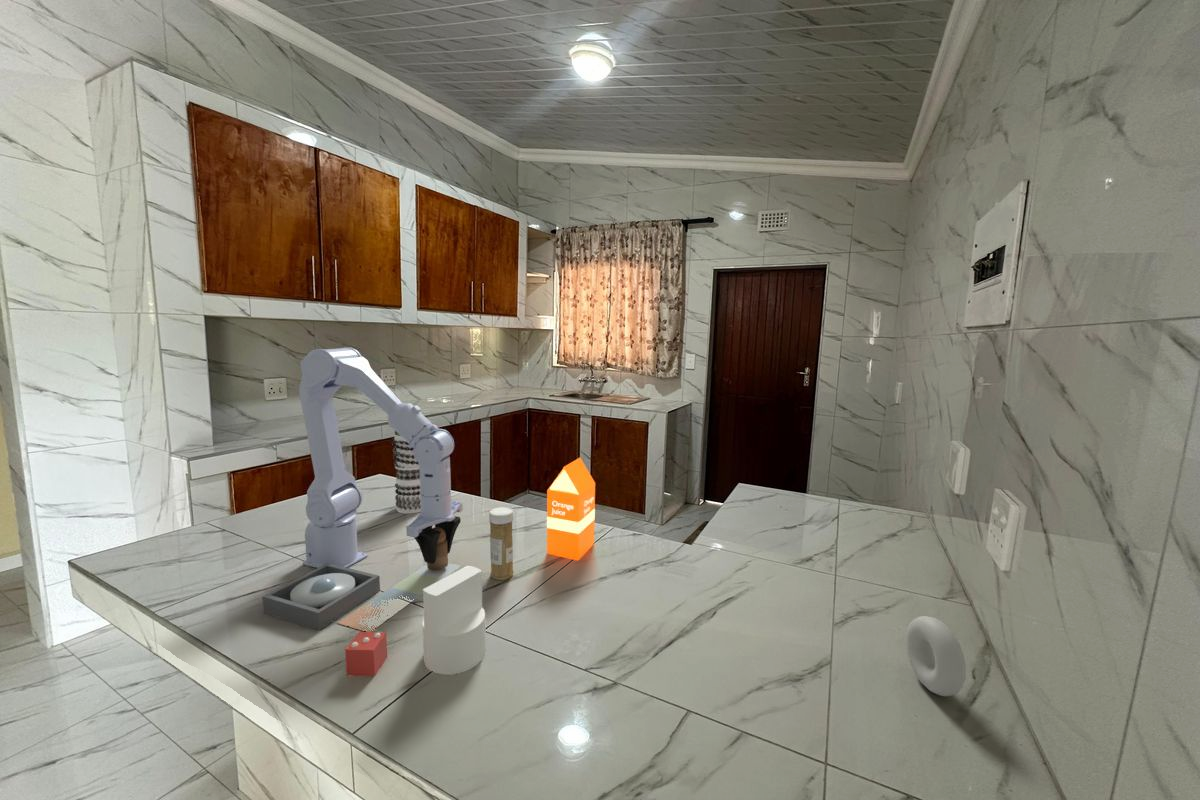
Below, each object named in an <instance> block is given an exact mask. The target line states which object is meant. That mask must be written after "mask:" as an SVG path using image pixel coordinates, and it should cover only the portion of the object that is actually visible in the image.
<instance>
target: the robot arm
mask: <svg viewBox="0 0 1200 800" xmlns="http://www.w3.org/2000/svg"><path fill="white" fill-rule="evenodd" d="M299 365H300V371H301V379H300V384H299V386H298V387H299V388H298V392H299V393H298V394H299V400H300V402H301V403H300V405H301V409H302V415H303V419H304V425H305V430H306V436H307V441H308V445H309V450H310V451H309V453H310V457H311V463H312V468H313V473H314V480H313V481H312V482H311V484H309V487H308V489H307V491H306V496H307V503H306V506H305V513H306V517H307V519H308V520H309V522H308V524H307V525H306V527H305V530H304V543H305V544H304V545H305V556H306V557H305V558H306V559H305V560H303V561H302V564H303V565H305V566H308V567H313V568H315V569H317V568H319V567H321V566H323V565H325V564H327V563H330V564H334V565H338V566H342V567H346V568H350V566H353V565H354V564H356V563H358V562H359V561H361V560H364V559H365V558H367V557H368V556H369V555H368V553H366V552H362V551H358V550H359V549H358V537H357V536H358V535H357V534H358V532H357V515H358V511H357V509H358V508H360V506H361V505H362V504H363V494H362V491H361V489H360V487H358V485H357V483H356V478H355V476H354V475H352V474H351V473H349V472H348V471H346V464H345V459H344V455H343V453H344V452H343V449H342V448H343V447H342V442H341V438H340V431H339V426H338V421H337V415H336V410H335V409H336V408H335V403H334V400H333V399H334V398H333V397H334V394H336V393H337V392H338V391H339V389H340V388H341V387H342V386H346V387H352V388H353V387H354V388H357V389H358V390H359V391H360V392H361V393H362V394H364V395H365V396H366V397H367V398H368V399H369V400H370V401H372V402H373V403H374V404H375V405H376V406H378V407H379V408H380V409H381V410H382V411H383V412H385V414H387V423H388V425H389V426H390V427H391V428H392V429H393V430H394V432H395V431H396V432H397V433H398V434H399V435H400V436H401V437H402V438H403V439H404V440H405V441H406V442H407V443H408V444H410V446H411V447H413V448H414V450H412V451H413V455H414V458H415V459H416V461H417V462H418V464H419V471H420V501H421V512H420V514H419V515H417V517H416V518H415V519H414V520H413V521H412V522H410V524H408V525H406V526H405V527H406V537H410V538H413V539H415V541H416V543H417V544H418V547H419V549H420V551H421V554H422V555H421V556H422V557H423V561H424V562H425V563H426V564H427V563H431V564H433V563H435V561H436V550H437V542H438V538H439V536H440V533H441V532H439V531H435V530H434V527H440V528H442V529H443V530H444V531H445V533H446V539H447V549H448V554H450V552H451V549H452V546H453V541H454V537H455V534H456V531H457V530H458V527H459V525H460V523H461V517H460V516H457V515H456V513H461V512H463V509H464V508H463V502H462V501H458V500H454V501H452V492H451V489H452V488H451V487H452V484H451V483H452V481H451V480H452V479H451V457H450V455H451V454H452V453H453V451H454V449H455V441H454V437H453V436H452V434H451V433H450V432H449V431H448V430H446V429H443V428H439V427H438V426H437V425H436V423H434V424H433V423H432V422H431V421H430V420H429V419H428V418H427V417H426V416H425V415H424V414H423V413H422V412H421V411H422V408H421V407H420V406H418V405H417V404H416V405H413V403H410V402H402V401H401V400H400V399H399V398H398V397H397V395H395V393H394V392H393V391H392V390H391V388H389V386H387V385H386V383H385V382H384V381H383V380H382V379H381V378H380V377H379V375H378V374H377V373H376V372H375V371H374V370H373V368H372V367H371V365H370V362H369V360H368V359H366V358H365V357H364V356H362V354H361V353H360V352H359V351H358V350H357V349H355V348H353V347H350V346H344V347H340V348H327V349H323V348H316V349H312V350H311V351H309V352H307V354H306V355H305V356H304V358H303V359H302V360H301V361H300V362H299ZM433 526H434V527H433ZM432 528H433V529H432Z"/></svg>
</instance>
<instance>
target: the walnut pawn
mask: <svg viewBox="0 0 1200 800" xmlns="http://www.w3.org/2000/svg"><path fill="white" fill-rule="evenodd" d="M433 528H434V530H435V531H439V532H441V533H440V536H439V538H438V542H437V550H436V561H435V563H433V564H431V563H427V562H426V564H427V568H428V569H430V570H441V569H444V568H445V567H447V566H448V563H449V558H448V557H449V555H448V554H449V553H448V549H447V539H446V533H445V531H444V530H443V529H442V528H440V527H435V526H434V527H432V529H433Z"/></svg>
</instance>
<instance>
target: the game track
mask: <svg viewBox="0 0 1200 800" xmlns="http://www.w3.org/2000/svg"><path fill="white" fill-rule="evenodd" d="M461 567H462V565H460V564H456V563H451V562H448V566H447V567H445V568H444V569H441V570H430V569H428V568H427V563H426V564H425V565H423V566H422V567H420V568H419V569H417V570H415V571H414V572H413V573H411V574H410V575H408V576H407V577H404V578H403V579H402V580H400V581H399V582H397V583H396V584H394V585H392V586H391V587H390V588H388V589H387V590H385V591H384V592H382V593H381V594H379V595H378V596H376V597H375V598H373V599H371V600H370V601H371V603H372V604H371V606H370V605H369V607H368V610H367V606H368V602H369V604H370V601H368V602H367V603H366V604H367V605H366V607H365V604H364V605H363V606H361V607H359V608H360V610H359V608H358V609H356V610H355V611H353V612H352V613H350V614H348V615H347V616H346V617H344V618H343V619H341V620H340V621H338V622H337V624H338V625H341V626H344V627H347V626H349V627H348V628H352V629H355V630H357V629H358V631H361V630H362V631H361V632H364V631H366V630H367V631H366V632H372V630H373V632H375V630H376V629H375V628H376V627H377V626H376V627H375V626H374V625H373V626H374V627H375V628H374V627H373V626H371V629H372V630H371V629H370V628H369V627H368V625H366V624H367V623H366V624H365V625H366V626H367V627H368V628H369V629H370V630H369V629H368V628H367V627H366V626H364V625H363V626H364V627H363V626H362V625H361V624H359V623H360V619H361V618H362V620H363V619H364V618H365V619H366V618H367V617H368V616H369V617H368V619H369V618H370V616H371V615H372V613H373V611H374V609H375V607H376V605H377V607H379V606H380V605H381V599H382V600H387V601H388V599H389V600H390V598H391V599H392V600H393V598H394V599H397V598H398V599H402V596H403V597H405V598H406V596H407V599H408V600H409V599H410V600H413V599H414V600H415V601H416V600H417V599H419V598H420V597H423V589H424V588H426V587H428V586H430V585H432V584H434V583H436V582H438V581H440V580H442V579H443V578H445V577H447V576H449V575H451V574H453V573H455V572H457V571H458V570H459V569H460V568H461ZM401 595H402V596H401ZM399 596H400V597H401V598H400V597H399ZM395 597H396V598H395ZM408 597H409V598H408ZM403 599H404V598H403ZM373 601H374V603H373ZM378 601H379V602H378ZM376 602H377V603H376ZM382 602H383V601H382ZM378 603H380V604H379V605H378ZM384 603H386V601H385V602H384ZM373 604H375V605H374V606H373ZM387 604H388V602H387ZM382 605H383V604H382ZM384 606H385V605H384ZM387 606H388V605H387ZM362 607H363V609H362ZM370 607H373V608H374V609H372V608H371V610H370V612H371V613H370V612H369V613H368V611H369V609H370ZM377 607H376V609H375V611H374V613H373V615H372V617H373V616H374V614H375V612H376V610H377ZM364 608H365V609H364ZM379 609H380V607H379ZM379 609H378V610H377V613H378V612H379ZM358 610H359V611H358ZM366 610H367V612H366ZM381 610H382V609H381ZM381 610H380V612H381ZM383 611H384V610H383ZM357 612H358V613H357ZM365 612H366V613H365ZM380 612H379V614H380ZM377 613H376V614H375V616H376V615H377ZM382 613H383V612H382ZM369 614H370V615H369ZM379 614H378V615H379ZM358 615H359V616H358ZM360 616H361V618H360ZM365 616H366V617H365ZM387 616H388V615H387ZM372 617H371V618H372ZM377 617H378V616H377ZM379 617H380V615H379ZM379 617H378V618H379ZM358 619H359V620H358ZM375 619H376V618H375ZM357 620H358V621H357ZM362 620H361V621H362ZM377 620H378V619H377ZM364 621H365V620H363V621H362V623H363V622H364ZM371 621H372V620H371ZM358 622H359V623H358ZM365 622H366V621H365ZM368 622H369V621H368ZM363 624H364V623H363ZM372 627H373V628H374V629H375V630H374V629H373V628H372ZM365 629H366V630H365ZM363 630H364V631H363Z"/></svg>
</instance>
